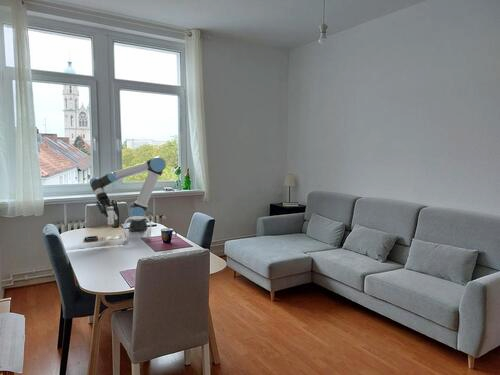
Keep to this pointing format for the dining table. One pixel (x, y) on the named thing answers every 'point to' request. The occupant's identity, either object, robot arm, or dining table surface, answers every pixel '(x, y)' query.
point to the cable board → (95, 238)
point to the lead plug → (111, 215)
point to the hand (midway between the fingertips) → (113, 219)
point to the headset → (126, 231)
